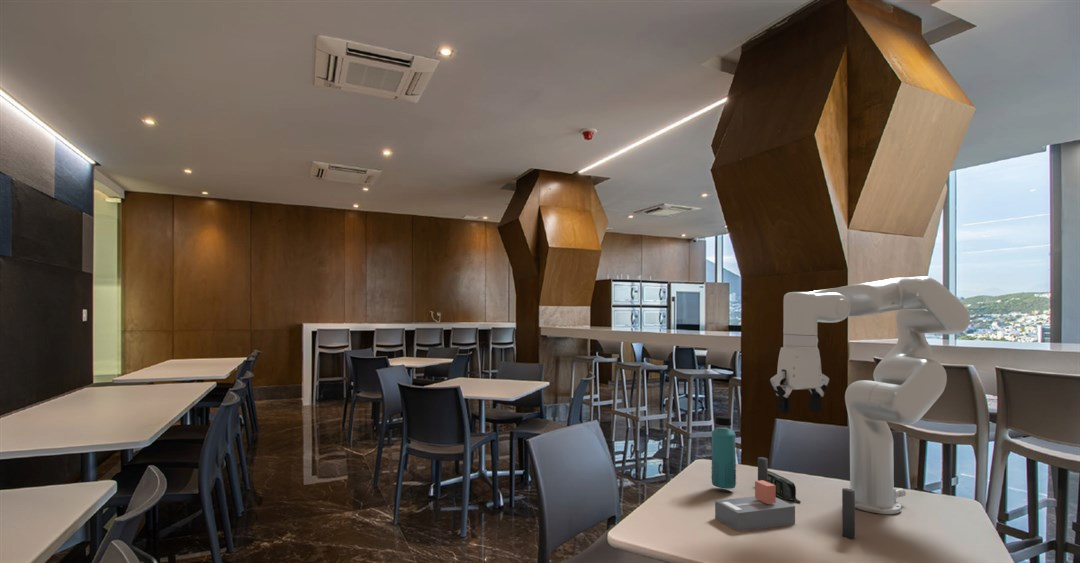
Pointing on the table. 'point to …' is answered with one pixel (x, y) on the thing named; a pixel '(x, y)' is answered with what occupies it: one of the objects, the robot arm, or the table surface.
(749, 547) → the table surface
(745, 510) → the box
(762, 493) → the switch
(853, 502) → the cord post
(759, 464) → the post
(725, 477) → the beverage bottle
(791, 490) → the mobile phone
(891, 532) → the table surface
